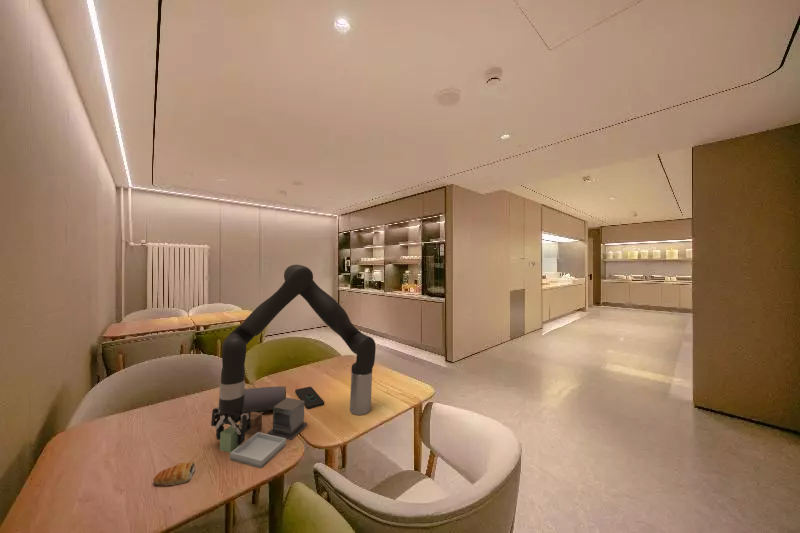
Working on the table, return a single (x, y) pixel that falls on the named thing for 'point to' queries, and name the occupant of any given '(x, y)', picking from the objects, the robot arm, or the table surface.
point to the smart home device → (309, 397)
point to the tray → (258, 449)
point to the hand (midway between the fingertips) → (230, 440)
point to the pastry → (175, 474)
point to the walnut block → (255, 423)
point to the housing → (288, 418)
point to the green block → (228, 439)
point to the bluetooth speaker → (263, 398)
